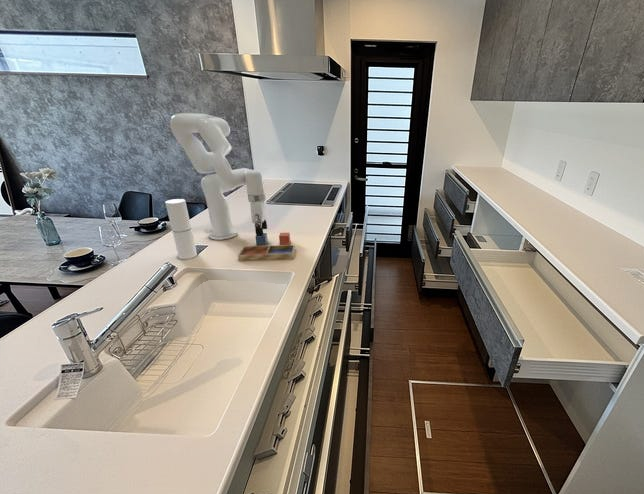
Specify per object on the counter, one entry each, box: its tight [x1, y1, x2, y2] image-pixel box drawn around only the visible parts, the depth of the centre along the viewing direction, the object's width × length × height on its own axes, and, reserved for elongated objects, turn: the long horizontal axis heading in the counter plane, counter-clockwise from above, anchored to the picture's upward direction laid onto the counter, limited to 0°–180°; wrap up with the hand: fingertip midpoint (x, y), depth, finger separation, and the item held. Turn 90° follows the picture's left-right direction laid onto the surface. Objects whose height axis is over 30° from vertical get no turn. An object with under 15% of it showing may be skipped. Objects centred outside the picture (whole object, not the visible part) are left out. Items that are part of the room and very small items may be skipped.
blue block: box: [255, 232, 269, 246], centre depth 148 cm, size 4×4×5 cm
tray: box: [237, 244, 296, 262], centre depth 137 cm, size 23×10×2 cm, turn 98°
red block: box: [278, 232, 291, 245], centre depth 150 cm, size 4×4×5 cm
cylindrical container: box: [164, 198, 198, 260], centre depth 130 cm, size 7×7×25 cm
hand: (262, 232), depth 146 cm, fingers open, 9 cm apart
